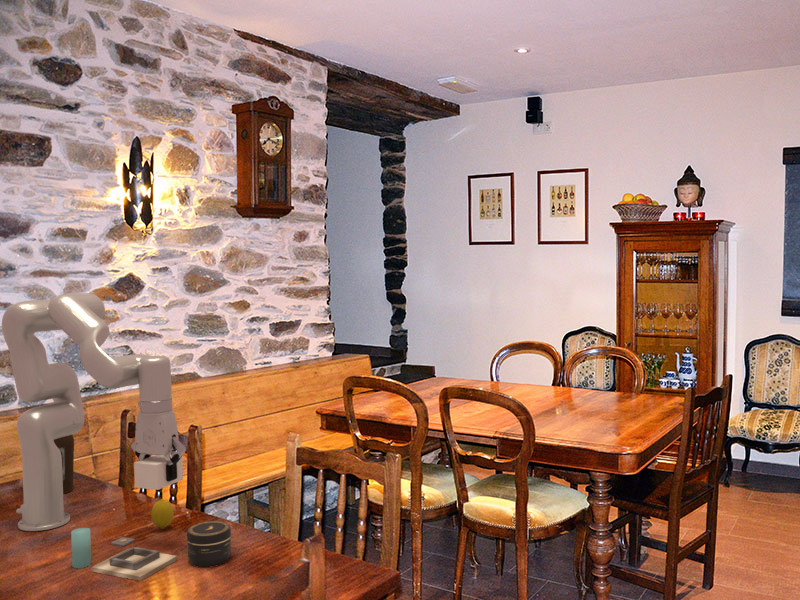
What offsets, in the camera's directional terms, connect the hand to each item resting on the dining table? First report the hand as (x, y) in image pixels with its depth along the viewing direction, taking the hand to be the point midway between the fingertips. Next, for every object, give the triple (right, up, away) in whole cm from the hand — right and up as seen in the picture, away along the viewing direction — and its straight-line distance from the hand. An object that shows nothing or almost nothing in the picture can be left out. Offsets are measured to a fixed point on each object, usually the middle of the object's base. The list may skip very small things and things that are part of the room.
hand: (159, 478), depth 176 cm
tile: (-10, -17, +3) cm, 20 cm away
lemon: (-3, -16, +12) cm, 20 cm away
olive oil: (-47, -15, +45) cm, 67 cm away
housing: (0, -1, 0) cm, 1 cm away
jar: (+15, -17, -8) cm, 24 cm away
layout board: (-2, -17, -11) cm, 21 cm away
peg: (-14, -17, -11) cm, 25 cm away
